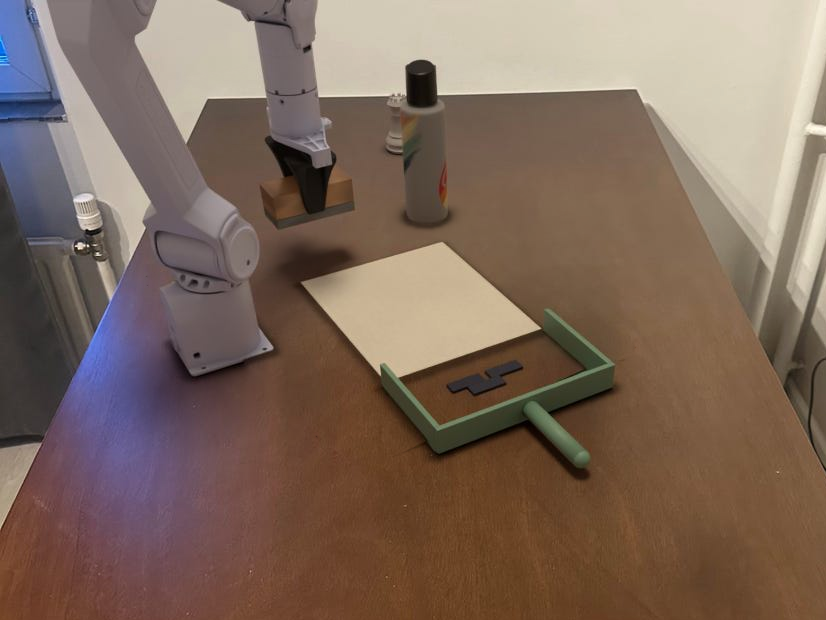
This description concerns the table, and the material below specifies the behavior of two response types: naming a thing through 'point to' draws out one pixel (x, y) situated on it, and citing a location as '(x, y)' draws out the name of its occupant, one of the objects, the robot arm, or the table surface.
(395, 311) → the cream rectangular board
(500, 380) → the stroke
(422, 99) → the lotion bottle
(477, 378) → the stroke
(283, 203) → the eraser
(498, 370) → the stroke
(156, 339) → the table surface
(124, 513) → the table surface
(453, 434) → the green handled pusher frame
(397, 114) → the rook chess piece
